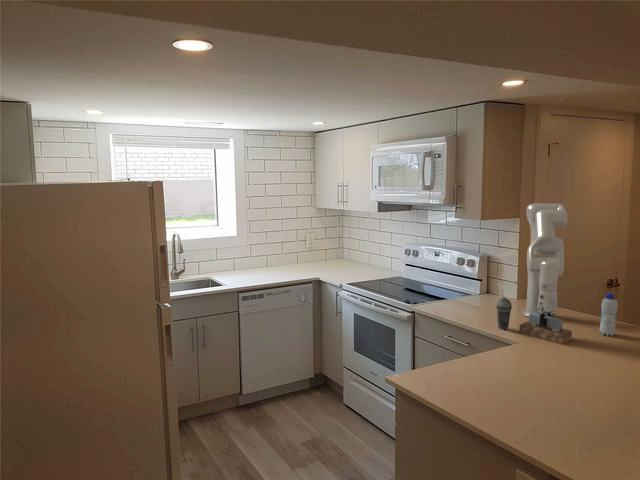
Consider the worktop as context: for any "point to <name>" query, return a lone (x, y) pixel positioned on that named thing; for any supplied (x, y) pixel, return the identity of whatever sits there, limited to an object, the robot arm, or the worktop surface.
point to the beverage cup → (503, 312)
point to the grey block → (551, 322)
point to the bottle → (608, 315)
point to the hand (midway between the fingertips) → (545, 324)
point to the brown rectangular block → (546, 333)
